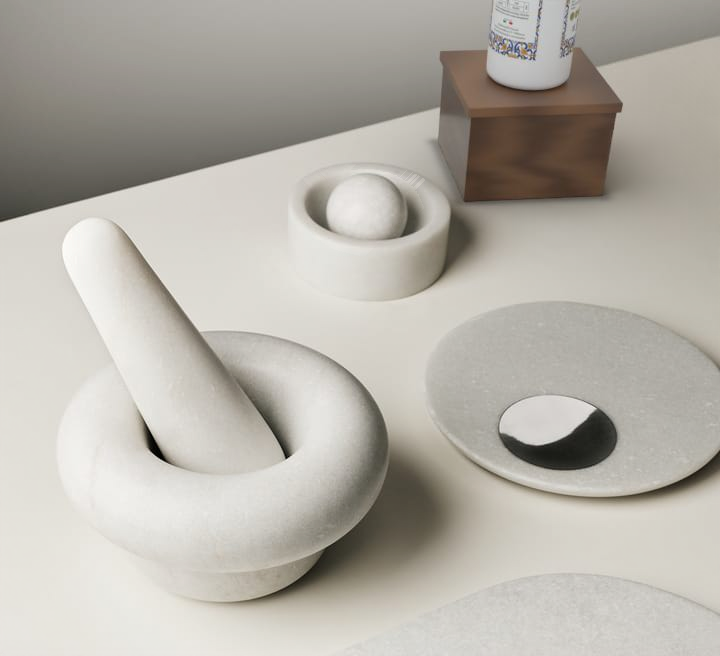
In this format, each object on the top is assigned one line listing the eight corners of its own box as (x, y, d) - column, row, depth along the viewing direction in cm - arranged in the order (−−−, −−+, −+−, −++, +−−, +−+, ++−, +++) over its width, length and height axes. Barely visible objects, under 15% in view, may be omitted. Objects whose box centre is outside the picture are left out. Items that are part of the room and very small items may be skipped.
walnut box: (567, 135, 106) (580, 46, 101) (606, 197, 97) (623, 103, 92) (433, 140, 105) (439, 50, 100) (460, 203, 96) (469, 108, 90)
